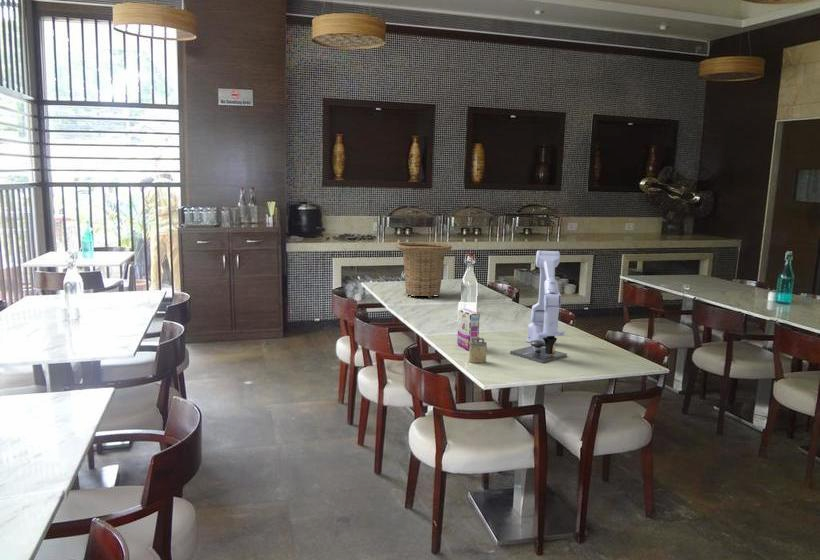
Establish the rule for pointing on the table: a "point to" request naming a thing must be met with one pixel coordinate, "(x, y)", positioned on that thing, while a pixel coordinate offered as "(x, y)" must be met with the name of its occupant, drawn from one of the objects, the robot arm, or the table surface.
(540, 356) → the lever base
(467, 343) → the candy bar box
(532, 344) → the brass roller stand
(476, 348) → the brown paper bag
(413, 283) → the wicker basket
